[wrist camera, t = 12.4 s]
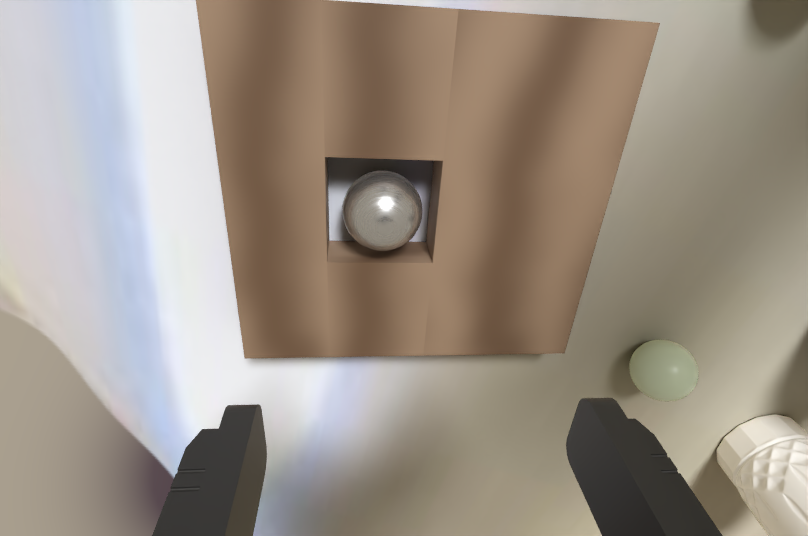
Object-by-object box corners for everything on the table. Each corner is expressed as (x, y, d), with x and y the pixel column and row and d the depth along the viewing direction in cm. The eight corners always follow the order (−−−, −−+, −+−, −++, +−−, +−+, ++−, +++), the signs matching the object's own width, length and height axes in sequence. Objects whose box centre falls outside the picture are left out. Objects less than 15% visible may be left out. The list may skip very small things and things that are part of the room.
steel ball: (420, 161, 25) (430, 188, 21) (414, 230, 27) (423, 265, 23) (343, 158, 24) (341, 185, 21) (343, 229, 26) (341, 264, 23)
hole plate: (629, 20, 22) (660, 22, 20) (549, 328, 31) (564, 353, 29) (211, -8, 20) (194, -9, 18) (252, 331, 29) (244, 358, 27)
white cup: (817, 436, 40) (946, 557, 31) (732, 484, 42) (831, 610, 33) (780, 393, 36) (913, 515, 28) (691, 448, 39) (788, 576, 30)
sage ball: (683, 327, 32) (722, 366, 29) (663, 371, 34) (699, 413, 31) (627, 327, 32) (661, 368, 28) (611, 373, 34) (641, 415, 30)
